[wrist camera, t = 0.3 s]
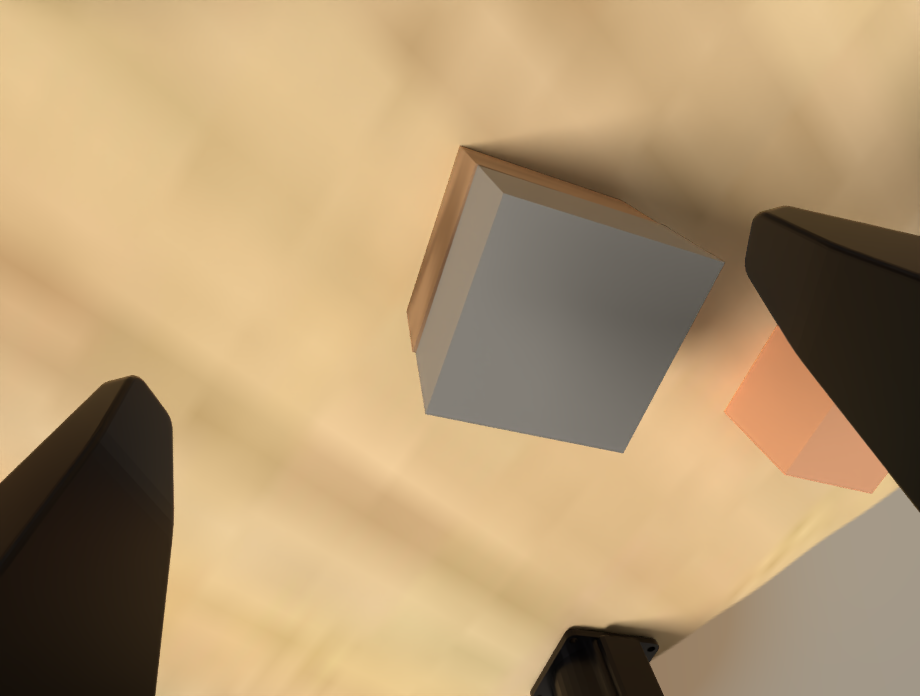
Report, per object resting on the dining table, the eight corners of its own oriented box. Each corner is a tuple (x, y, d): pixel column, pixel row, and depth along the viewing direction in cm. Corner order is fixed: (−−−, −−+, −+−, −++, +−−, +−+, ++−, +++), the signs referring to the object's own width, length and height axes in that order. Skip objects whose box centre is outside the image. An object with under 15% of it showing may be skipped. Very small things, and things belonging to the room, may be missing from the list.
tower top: (584, 391, 23) (622, 453, 20) (415, 353, 22) (425, 413, 18) (663, 225, 21) (724, 262, 17) (477, 164, 19) (503, 193, 15)
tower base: (553, 346, 27) (581, 391, 23) (406, 308, 25) (412, 351, 22) (618, 198, 24) (661, 225, 21) (458, 144, 22) (475, 163, 19)
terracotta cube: (800, 429, 31) (871, 493, 27) (723, 411, 30) (784, 474, 25) (856, 348, 29) (943, 402, 25) (776, 324, 28) (852, 377, 23)
